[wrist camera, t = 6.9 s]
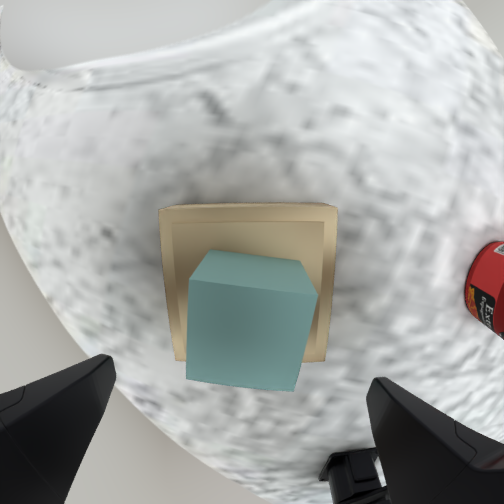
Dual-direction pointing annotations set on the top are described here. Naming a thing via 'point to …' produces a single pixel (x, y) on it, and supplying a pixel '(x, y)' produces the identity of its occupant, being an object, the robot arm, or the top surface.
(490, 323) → the canned food
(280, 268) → the teal cube
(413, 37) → the top surface
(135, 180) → the top surface
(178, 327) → the bamboo box
